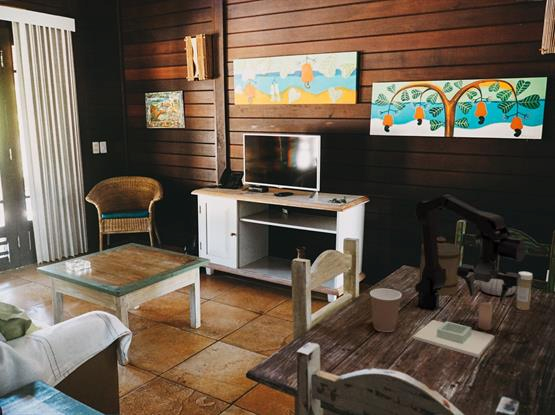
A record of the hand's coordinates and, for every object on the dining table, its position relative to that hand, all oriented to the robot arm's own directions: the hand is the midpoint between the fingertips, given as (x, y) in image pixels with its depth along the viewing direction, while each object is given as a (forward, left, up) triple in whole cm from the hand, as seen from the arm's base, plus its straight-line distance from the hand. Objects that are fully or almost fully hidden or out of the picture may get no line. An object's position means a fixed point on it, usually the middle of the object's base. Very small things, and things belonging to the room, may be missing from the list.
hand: (486, 299), depth 161 cm
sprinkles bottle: (+6, +26, -10) cm, 28 cm away
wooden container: (-26, +27, -10) cm, 39 cm away
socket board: (-5, -15, -10) cm, 19 cm away
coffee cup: (-26, -21, -10) cm, 35 cm away
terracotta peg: (0, 0, -10) cm, 10 cm away
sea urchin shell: (-6, +38, -10) cm, 40 cm away
